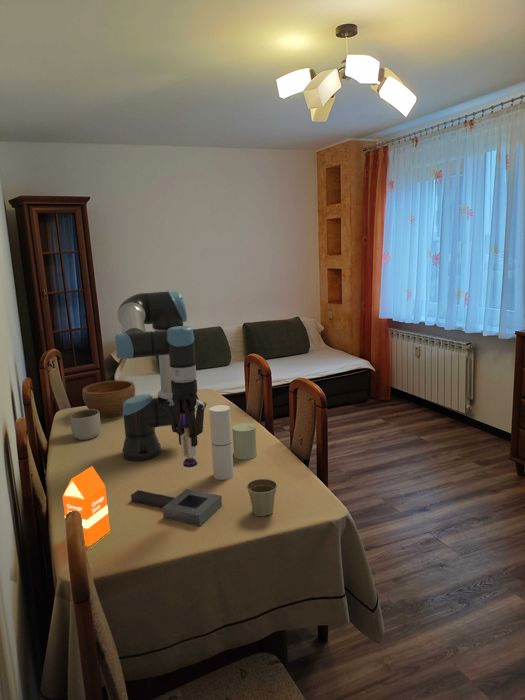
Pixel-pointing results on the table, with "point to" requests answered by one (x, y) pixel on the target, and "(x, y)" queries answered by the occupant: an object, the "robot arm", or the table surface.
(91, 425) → the planter
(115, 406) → the bowl
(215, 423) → the cylindrical container
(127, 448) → the robot arm
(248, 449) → the can
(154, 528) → the table surface
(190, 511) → the block
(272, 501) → the flower pot
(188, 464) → the toy lamp
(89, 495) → the orange juice
